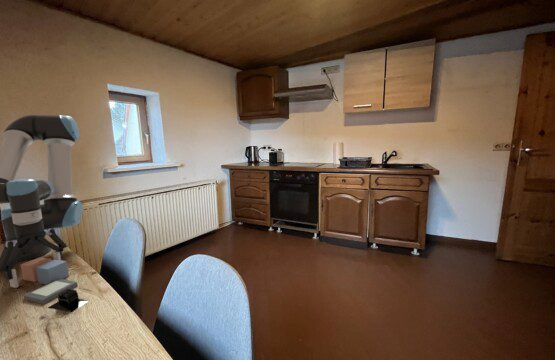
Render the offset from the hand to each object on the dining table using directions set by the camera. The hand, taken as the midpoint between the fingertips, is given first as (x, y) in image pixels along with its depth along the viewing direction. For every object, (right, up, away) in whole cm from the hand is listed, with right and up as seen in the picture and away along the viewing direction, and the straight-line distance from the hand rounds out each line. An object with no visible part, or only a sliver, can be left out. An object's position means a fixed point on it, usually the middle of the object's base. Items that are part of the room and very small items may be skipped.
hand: (38, 276), depth 92 cm
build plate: (+25, -3, -16) cm, 30 cm away
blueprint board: (+14, -1, -10) cm, 17 cm away
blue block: (+8, 0, -2) cm, 8 cm away
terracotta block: (0, 0, 0) cm, 0 cm away
